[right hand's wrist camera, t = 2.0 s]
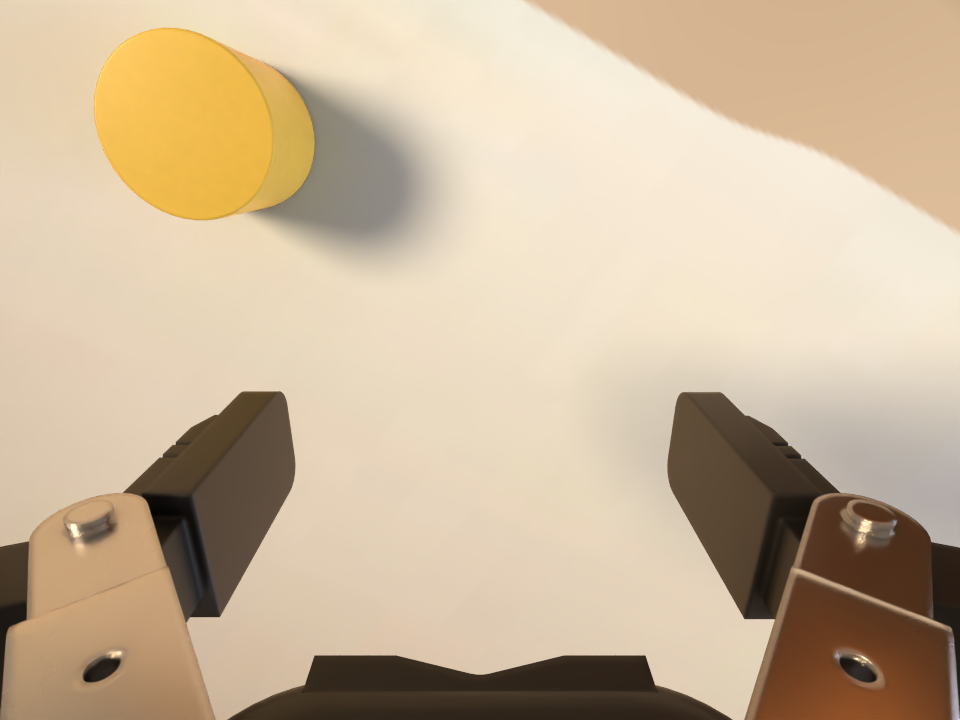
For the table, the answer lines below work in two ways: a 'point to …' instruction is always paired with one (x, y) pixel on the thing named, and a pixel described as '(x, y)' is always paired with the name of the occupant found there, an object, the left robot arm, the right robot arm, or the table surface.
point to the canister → (201, 126)
